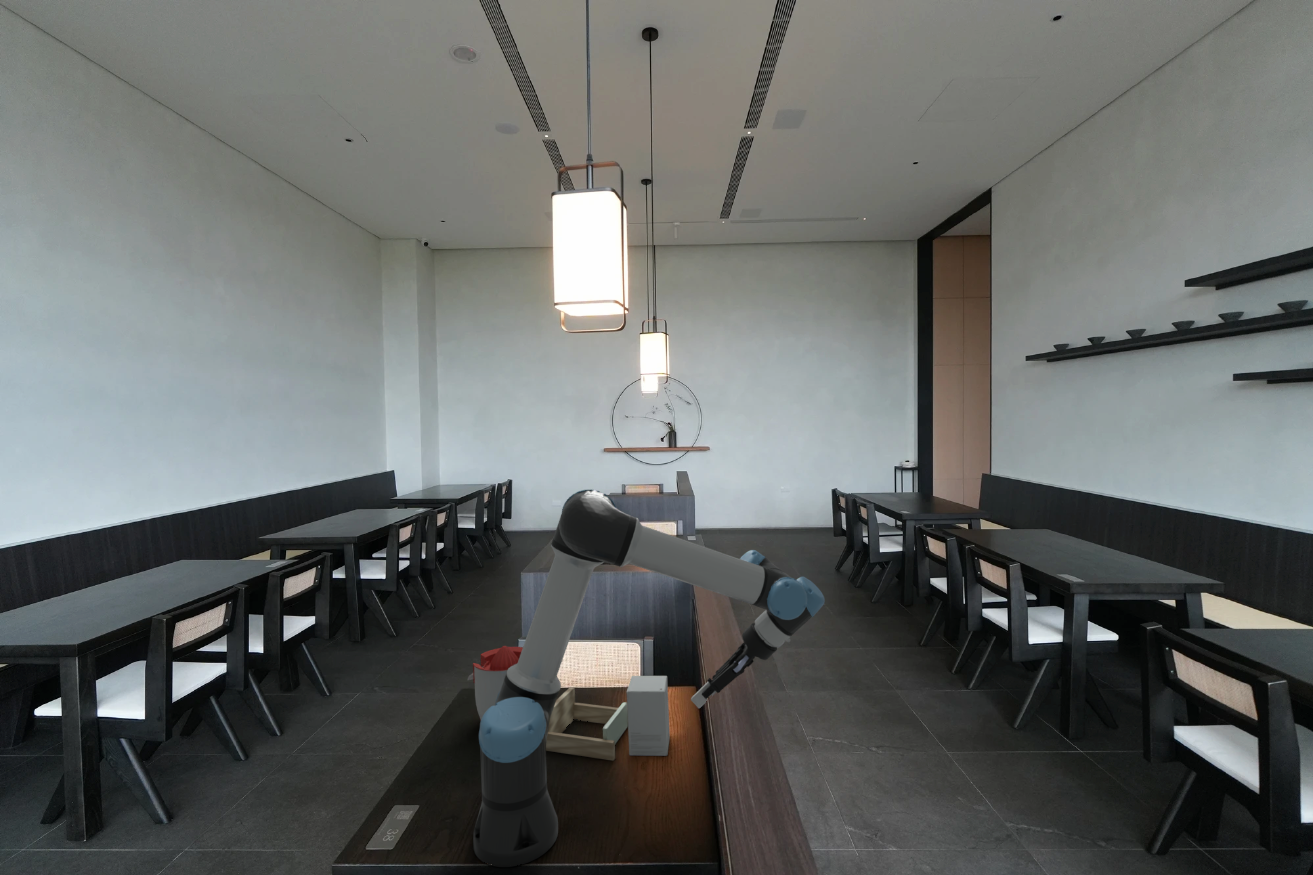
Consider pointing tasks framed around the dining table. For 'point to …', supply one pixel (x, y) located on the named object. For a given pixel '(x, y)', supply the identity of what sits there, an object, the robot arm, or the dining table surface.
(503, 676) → the citrus juicer
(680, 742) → the dining table surface
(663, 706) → the supplement box
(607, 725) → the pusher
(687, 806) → the dining table surface
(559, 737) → the pusher lane
